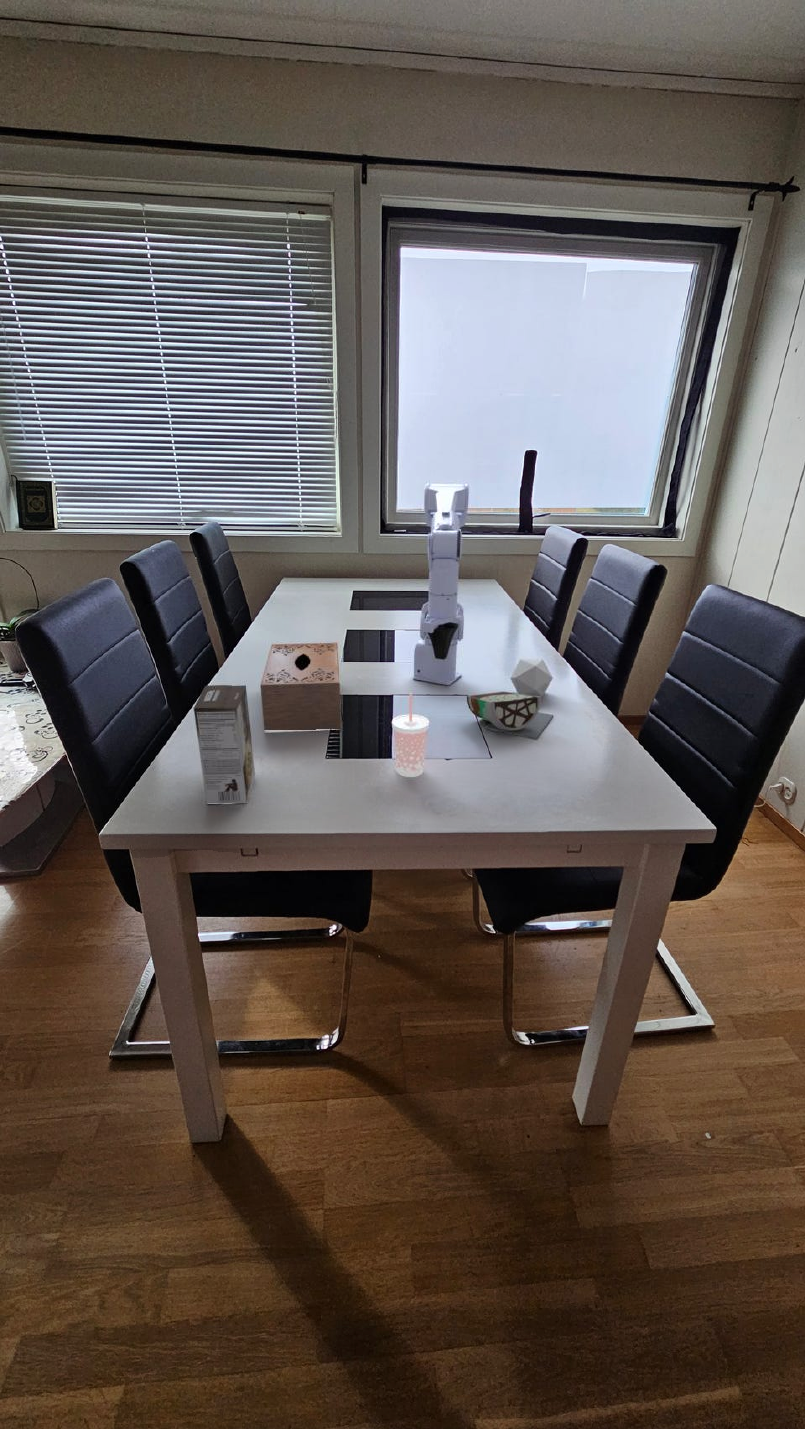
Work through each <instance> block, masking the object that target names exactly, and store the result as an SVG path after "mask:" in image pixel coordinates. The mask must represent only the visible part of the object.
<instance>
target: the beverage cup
mask: <svg viewBox="0 0 805 1429" xmlns="http://www.w3.org/2000/svg"><path fill="white" fill-rule="evenodd" d="M408 697H409V705H408V706H409V709H408V710H409V712H408V714H400V715H397V716H395V717H394V718H393V719H392V720H391V727H392V730H393V741H394V753H395V754H394V755H395V756H394V757H395V768H396V769H395V770H396V773H397V774H399V775H400V776H403V777H405V778H416V777H419V776H421V775H423V773H424V771H425V769H424V768H425V759H426V758H425V757H426V749H427V748H426V747H427V738H428V737H427V734H428V730H429V728H430V720H429V719H428V718H427V717H426V716H423V715H420V714H413V692H409V696H408Z"/></svg>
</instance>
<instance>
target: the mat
mask: <svg viewBox="0 0 805 1429" xmlns="http://www.w3.org/2000/svg"><path fill="white" fill-rule="evenodd" d="M553 718H554V715H553V714H550V713H545V712H540V711H538V713H537V715H536V716H535V718H534V719H533V721H532V722H531V723H530V724H529V725H527V726H526V727H524V728H521V729H519V730H512V731H505V730H501V729H499V728H497V727H496V726H494V725H493V724H492V722H489V723H488V724H487V725H486V726H485V729H486V730H491V731H493V732H494V731H495V732H500V733H504V734H508V735H509V734H510V735H515V736H519V737H523V738H524V737H525V738H527V739H534V740H537V739H538V738H539V737H540V735H541V734H542V733H543V731H544V730H545V729H546V727H547V726H548V724H549V723H550V722H551V721H552V719H553Z"/></svg>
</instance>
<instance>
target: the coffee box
mask: <svg viewBox="0 0 805 1429" xmlns="http://www.w3.org/2000/svg"><path fill="white" fill-rule="evenodd" d="M247 693H248V692H247V685H245V684H244V685H231V684H219V685H218V684H215V685H214V684H213V685H205V686H204V688H203V689H202V691H201V694H200V695H199V697H198V700H197V701H196V703H195V705H194V706H193V713H194V720H195V727H196V728H195V729H196V735H197V736H196V737H197V742H198V743H197V744H198V750H199V757H200V764H201V772H202V773H201V774H202V780H203V788H204V793H205V801H206V804H207V803H246V804H248V803H249V800H248V799H250V796H251V792H252V788H251V787H253V785H252V784H254V781H255V776H256V771H255V769H256V768H255V761H254V760H255V759H254V753H253V751H254V750H253V742H252V733H251V721H250V712H249V705H248V704H249V703H248V702H249V701H248V694H247ZM253 780H254V781H253ZM249 795H250V796H249ZM247 802H248V803H247Z"/></svg>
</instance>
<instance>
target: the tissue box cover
mask: <svg viewBox="0 0 805 1429" xmlns="http://www.w3.org/2000/svg"><path fill="white" fill-rule="evenodd" d="M338 648H339V647H338V642H313V643H309V642H305V643H302V642H301V643H272V644H271V645H270V650H269V653H268V656H267V660H266V664H265V667H264V670H263V674H262V679H261V682H260V694H261V695H260V698H261V707H262V708H261V709H262V720H263V731H264V730H316V729H341V730H342V720H341V715H342V714H341V691H340V690H341V689H340V688H341V687H340V670H339V669H340V667H339V666H340V665H339V650H338Z"/></svg>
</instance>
